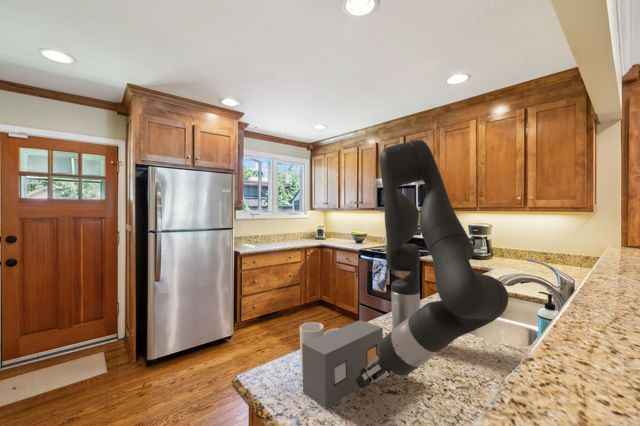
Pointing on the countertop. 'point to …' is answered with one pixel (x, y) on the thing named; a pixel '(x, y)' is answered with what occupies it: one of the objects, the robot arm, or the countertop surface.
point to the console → (337, 360)
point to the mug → (309, 334)
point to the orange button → (370, 354)
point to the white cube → (339, 372)
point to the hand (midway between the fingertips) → (360, 383)
